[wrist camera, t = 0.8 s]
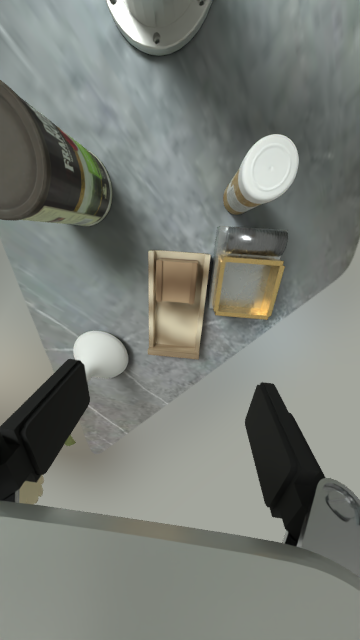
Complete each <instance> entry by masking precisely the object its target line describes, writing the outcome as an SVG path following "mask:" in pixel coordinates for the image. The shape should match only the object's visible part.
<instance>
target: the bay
mask: <svg viewBox="0 0 360 640" xmlns="http://www.w3.org/2000/svg"><path fill="white" fill-rule="evenodd" d="M210 256H211V255H210V254H204V253H190V252H176V251H162V250H150V251H148V259H149V349H148V354H149V355H159V356H169V357H180V358H190V359H199V347H200V339H201V331H202V322H203V314H204V306H205V298H206V289H207V281H208V273H209V264H210ZM160 258H173V259H187V260H198V271H197V282H196V292H195V302H194V303H193V305H192V304H189V303H182V302H170V301H161V302H157V300H156V261H157V260H158V259H160Z"/></svg>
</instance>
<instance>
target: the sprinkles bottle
mask: <svg viewBox="0 0 360 640" xmlns="http://www.w3.org/2000/svg"><path fill="white" fill-rule="evenodd" d="M298 164H299V157H298V152H297V149H296V146H295V145H294V143H293V142H292V141H291V140H290V139H289V138H288V137H286V136H284V135H280V134H272V135H269V136H266V137H263V138H262V139H260V140H259V141H258V142H256V143H255V144H254V145H253V146H252V148H251V149H250V150H249V152H248V153H247V155H246V156H245V158H244V159H243V161H242V163H241V166H240V169H239V170H238V172H237V173H236V174H235V176H234V177H233V179H232V180H231V182H230V184H229V185H228V186H227V188H226V189H225V192H224V197H223V200H224V206H225V207H226V209H227V210H228V212H230V213H231V214H235V215H239V214H243V213H245V212H246V211H248V210H250V209H252V208H255V207H257V206H259V205H261V204H264V203H268V202H270V201H272V200H274V199H276V198H278V197H279V196H281V195H282V194H283V193H284V192H286V191H287V189H288V188H289V187H290V186H291V184H292V183H293V181H294V179H295V176H296V174H297V170H298Z"/></svg>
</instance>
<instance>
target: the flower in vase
mask: <svg viewBox="0 0 360 640" xmlns="http://www.w3.org/2000/svg"><path fill="white" fill-rule="evenodd" d="M74 357H75V360H80V361H81V362H82V363H83V364H84V366H85V372H86V378H87V383H88V382H89V380H90V379H91V378H92V377H96V378H113V377H115V376H117V375H119V374H121V373H122V372H123V371H124V370H125V369H126V367H127V365H128V354H127V351H126V349H125V347H124V345H123V344H122V343H121V341H120V340H119V339H117V338H116V337H115V336H113V335H111V334H109V333H106V332H102V331H89V332H86V333H84V334H82V335H81V336H80V337H79V338H78V339H77V340H76V342H75V345H74ZM75 443H76V442H75V441H74V440H73V439H72V437H71V435H70V436H69V437H68V439H67V440H66V442H65V445H67V446H70V445H73V444H75ZM43 482H44V478H43V476H42V475H41V477H40V478H39V480H38V481H37V483H36V482H29V481H25V482H24V483H23V485H22V486H21V488H20V492H19V503H24V504H33V505H34V503H37V501H38V496H40V497H41V495H42V494H43V488H42V485H41V484H43Z"/></svg>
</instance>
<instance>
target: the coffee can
mask: <svg viewBox="0 0 360 640" xmlns="http://www.w3.org/2000/svg"><path fill="white" fill-rule="evenodd" d="M111 202H112V186H111V181H110V178H109V175H108V173H107V171H106V169H105V167H104V165H103V164H102V162H101V161H100V160H99V159H98V158H97V157H96V156H95V155H94V154H93V153H91V152H90V151H89V150H87V149H85V148H84V147H83V146H82V145H80V144H79V143H78V142H76V141H75V140H74V139H72V138H71V137H70V136H69V135H67V134H66V133H65V132H64V131H62V130H61V129H60V128H58V127H57V126H56V125H55V124H53V123H52V122H51V121H50V120H48V119H47V118H46V117H45V116H43V115H42V114H41V113H39V112H38V111H37V110H35V109H34V108H33V107H32V106H30V105H29V104H28V103H27V102H25V101H24V100H23V99H21V98H20V97H19V96H18V95H17V94H16V93H15V92H14V91H13V90H12V89H11V88H10V87H8V86H7V85H6V84H5V83H4V82H2V81H1V80H0V219H2V220H30V221H41V222H52V223H62V224H73V225H80V226H92V225H95V224H97V223H99V222H100V221H101V220H103V219H104V218H105V216H106V215H107V213H108V211H109V209H110V206H111Z"/></svg>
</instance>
